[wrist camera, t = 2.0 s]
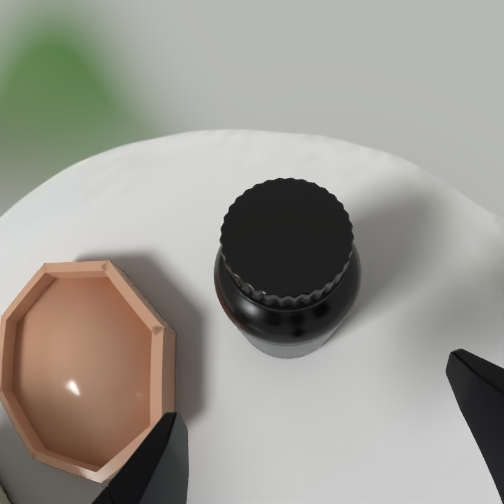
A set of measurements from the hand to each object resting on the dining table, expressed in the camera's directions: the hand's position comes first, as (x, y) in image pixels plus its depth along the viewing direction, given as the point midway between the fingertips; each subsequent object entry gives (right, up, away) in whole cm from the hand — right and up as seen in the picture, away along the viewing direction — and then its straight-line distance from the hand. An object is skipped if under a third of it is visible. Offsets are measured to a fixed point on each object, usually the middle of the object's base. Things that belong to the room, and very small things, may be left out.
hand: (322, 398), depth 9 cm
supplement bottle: (0, 0, +13) cm, 13 cm away
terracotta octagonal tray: (-16, -5, +13) cm, 21 cm away
